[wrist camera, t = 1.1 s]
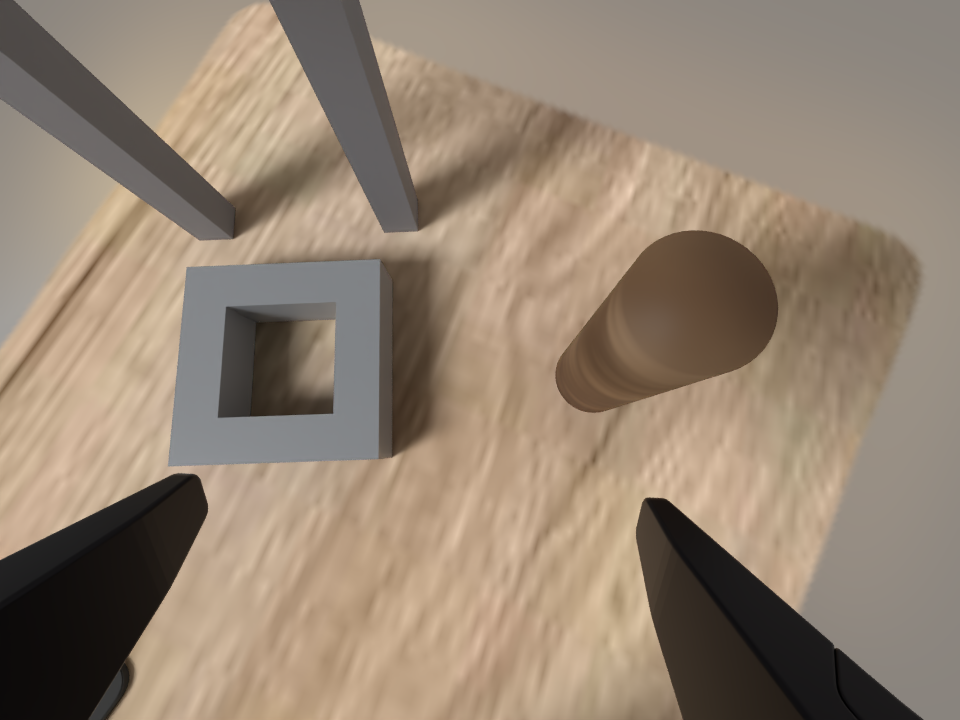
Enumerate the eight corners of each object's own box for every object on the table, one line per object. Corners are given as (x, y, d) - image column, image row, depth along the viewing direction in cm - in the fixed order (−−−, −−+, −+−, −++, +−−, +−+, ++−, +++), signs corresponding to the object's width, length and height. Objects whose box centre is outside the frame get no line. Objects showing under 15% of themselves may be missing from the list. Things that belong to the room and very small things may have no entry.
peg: (632, 411, 24) (789, 372, 12) (558, 413, 24) (632, 377, 12) (625, 339, 25) (765, 227, 12) (553, 341, 25) (618, 233, 12)
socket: (392, 457, 24) (378, 458, 21) (207, 463, 24) (167, 466, 21) (392, 280, 26) (380, 259, 23) (220, 287, 26) (186, 267, 23)
